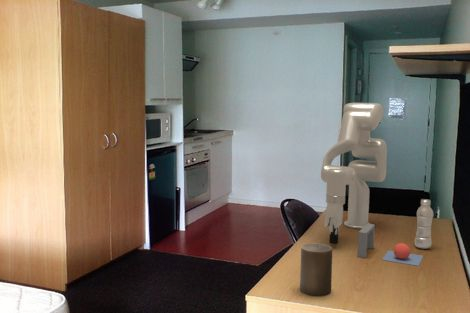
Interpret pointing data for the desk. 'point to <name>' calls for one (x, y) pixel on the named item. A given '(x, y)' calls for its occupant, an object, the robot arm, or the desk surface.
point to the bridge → (365, 240)
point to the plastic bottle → (424, 225)
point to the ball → (401, 251)
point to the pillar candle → (316, 269)
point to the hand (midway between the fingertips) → (333, 243)
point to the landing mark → (410, 260)
